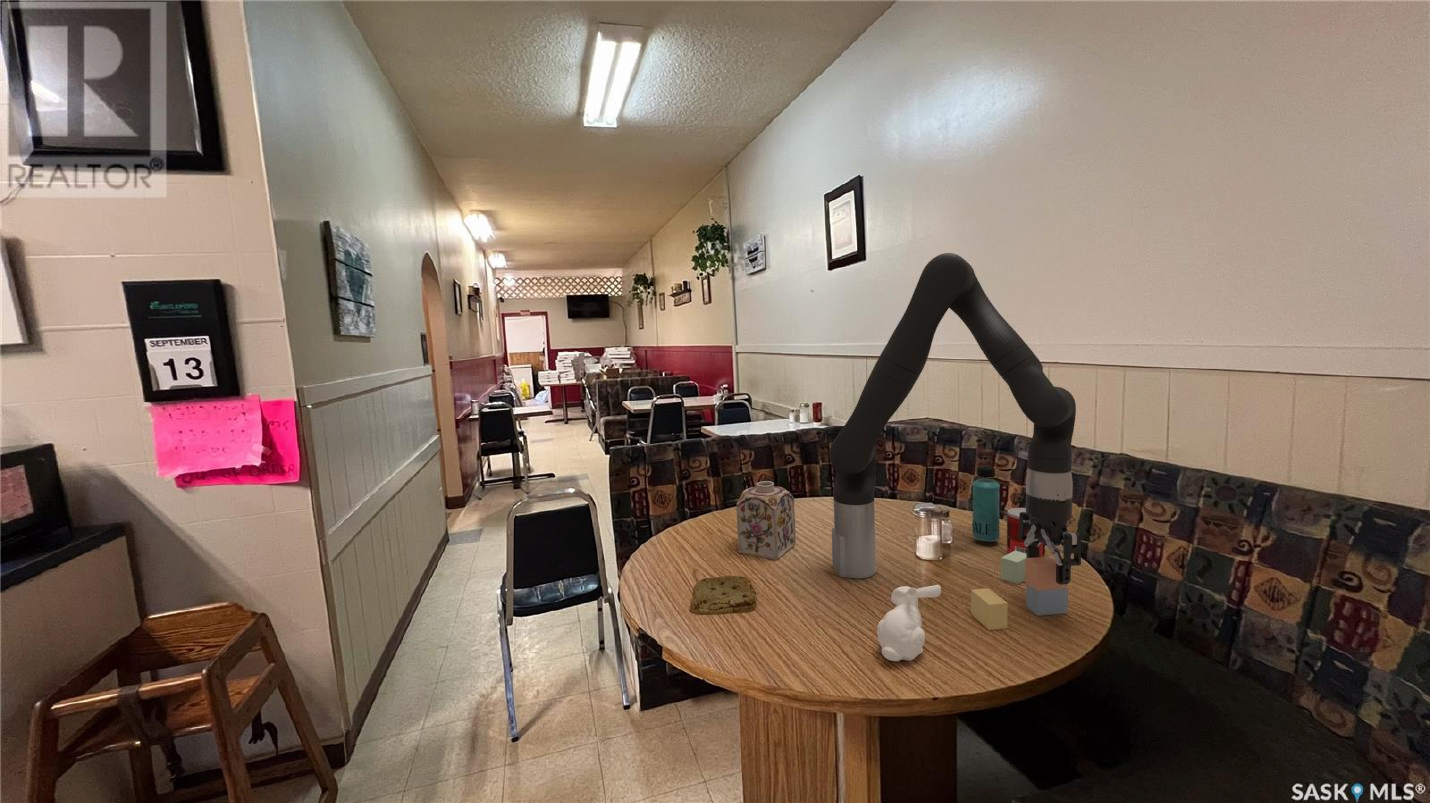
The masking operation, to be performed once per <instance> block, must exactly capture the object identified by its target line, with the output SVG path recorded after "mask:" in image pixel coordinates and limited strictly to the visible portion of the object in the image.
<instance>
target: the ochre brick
mask: <svg viewBox="0 0 1430 803" xmlns="http://www.w3.org/2000/svg"><path fill="white" fill-rule="evenodd" d="M970 591H971V592H970V605H971V607H970V612H971V613H970V614H971V615H972V616H973V617H974V618H975V619H976V620H977V621H978V622H979V623H981V624H982V625H983V626H984V627H985V628H986V629H987V630H988V631H994V630H1002V629H1008V606H1009V605H1008V604H1009V603H1008V602H1007V601H1005V600H1004V599H1003V598H1002V597H1000V596H999V595H998V594H997V593H996V592H994V591H993V590H991V589H990V588H989V587H986V588H977V589H976V588H975V589H971V590H970Z"/></svg>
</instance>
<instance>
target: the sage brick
mask: <svg viewBox="0 0 1430 803" xmlns="http://www.w3.org/2000/svg"><path fill="white" fill-rule="evenodd" d="M1026 556H1027V555H1026V553H1022V552H1019V551H1013V552H1011V553H1009V554H1008V553H1006V554H1005V555H1004V556H1003V555H1002V556H1001V557H1000V579H1001V580H1002V581H1003V580H1004V581H1006V582H1009V583H1012V584H1014V585H1015V584H1016V585H1019V584H1021V583H1022V582H1025V558H1026Z"/></svg>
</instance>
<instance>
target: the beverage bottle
mask: <svg viewBox="0 0 1430 803" xmlns="http://www.w3.org/2000/svg"><path fill="white" fill-rule="evenodd" d="M976 475H977V477H982V478H977V479H976V480H974V482H973V483H972V494H971V495H972V498H971V499H972V502H971V503H972V513H971V515H972V521H971V522H972V524H971V525H972V526H971V527H972V529H971V532H972V536H973V538H975V539H976V540H979V541H982V542H996V541H999V539H1000V527H1001V525H1000V516H1001V515H1000V487H1001V485H1000V484H999V482H997V481H996V479H993V478H994V477H996V470H995V468H994V467H992V466H978V467H977V474H976ZM991 478H992V479H991Z"/></svg>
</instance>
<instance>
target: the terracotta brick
mask: <svg viewBox="0 0 1430 803" xmlns="http://www.w3.org/2000/svg"><path fill="white" fill-rule="evenodd" d="M1056 564H1057V562H1056V559H1055V557H1054V555H1049V556H1045V557H1035V558H1025V580H1024V583H1025V584H1028V585H1029V586H1031V587H1032V588H1034V589H1035V590H1037V591H1040V590H1051V589H1063V588H1068V584H1063V585H1060V584H1058V583H1057V582H1056Z"/></svg>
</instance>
